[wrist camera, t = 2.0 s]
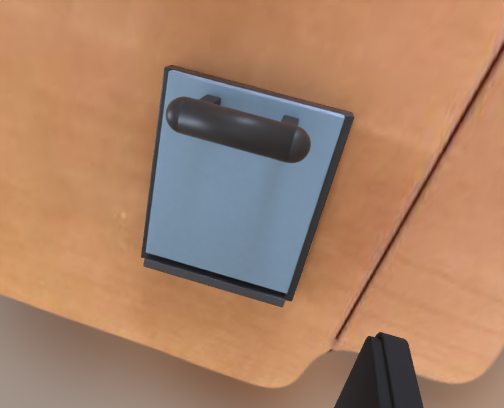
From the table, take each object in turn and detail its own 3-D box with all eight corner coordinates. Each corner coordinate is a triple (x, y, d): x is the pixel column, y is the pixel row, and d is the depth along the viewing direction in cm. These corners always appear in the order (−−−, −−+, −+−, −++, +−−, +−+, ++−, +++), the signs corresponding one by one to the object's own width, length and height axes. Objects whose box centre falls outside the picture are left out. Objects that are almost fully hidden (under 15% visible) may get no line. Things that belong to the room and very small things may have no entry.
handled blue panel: (172, 69, 21) (132, 82, 17) (344, 114, 21) (348, 140, 16) (149, 247, 26) (113, 292, 22) (288, 288, 25) (279, 342, 21)
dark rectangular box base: (170, 64, 22) (158, 68, 20) (353, 112, 22) (355, 120, 20) (146, 249, 27) (135, 264, 26) (293, 292, 27) (290, 310, 25)
